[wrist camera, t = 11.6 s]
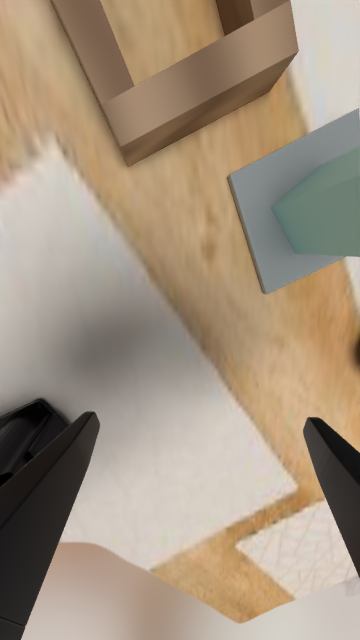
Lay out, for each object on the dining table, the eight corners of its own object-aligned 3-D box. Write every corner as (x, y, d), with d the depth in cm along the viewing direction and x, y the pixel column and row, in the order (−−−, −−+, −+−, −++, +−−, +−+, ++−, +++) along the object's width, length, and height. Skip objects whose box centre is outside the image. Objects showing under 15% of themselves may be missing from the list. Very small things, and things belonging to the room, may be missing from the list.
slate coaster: (263, 293, 19) (266, 294, 18) (227, 177, 15) (229, 174, 15) (364, 244, 18) (370, 244, 18) (350, 113, 15) (358, 108, 14)
